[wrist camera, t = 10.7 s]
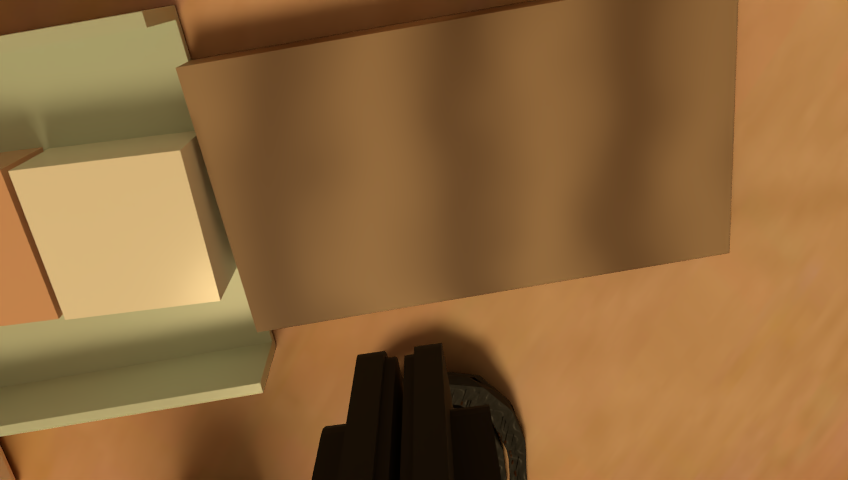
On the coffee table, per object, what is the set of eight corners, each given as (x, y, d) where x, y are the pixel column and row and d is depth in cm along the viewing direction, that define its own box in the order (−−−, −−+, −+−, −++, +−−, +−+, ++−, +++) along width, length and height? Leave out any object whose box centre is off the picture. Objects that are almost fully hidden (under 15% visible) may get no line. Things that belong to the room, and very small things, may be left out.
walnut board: (712, -31, 24) (739, -31, 22) (707, 234, 29) (729, 253, 27) (191, 59, 24) (175, 68, 23) (265, 308, 29) (257, 332, 27)
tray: (174, 4, 24) (141, 11, 20) (276, 346, 30) (263, 392, 26) (-223, 74, 24) (-317, 91, 21) (-42, 399, 30) (-94, 452, 27)
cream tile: (202, 129, 25) (180, 150, 22) (236, 267, 28) (220, 300, 25) (49, 148, 25) (8, 171, 22) (97, 284, 28) (65, 319, 25)
